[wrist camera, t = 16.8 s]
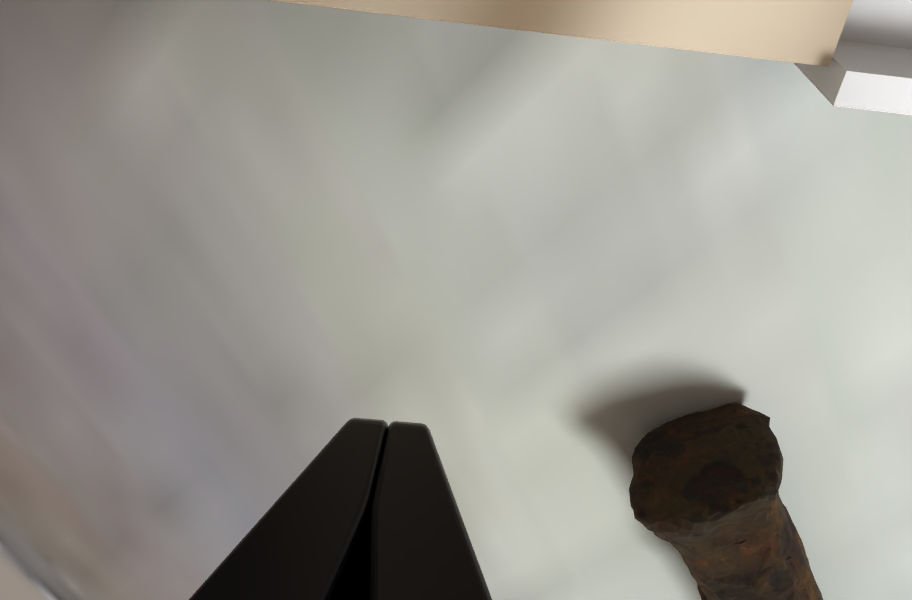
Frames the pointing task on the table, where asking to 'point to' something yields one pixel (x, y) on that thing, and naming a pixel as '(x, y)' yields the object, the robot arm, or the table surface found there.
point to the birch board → (650, 22)
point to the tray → (870, 59)
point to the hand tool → (722, 505)
